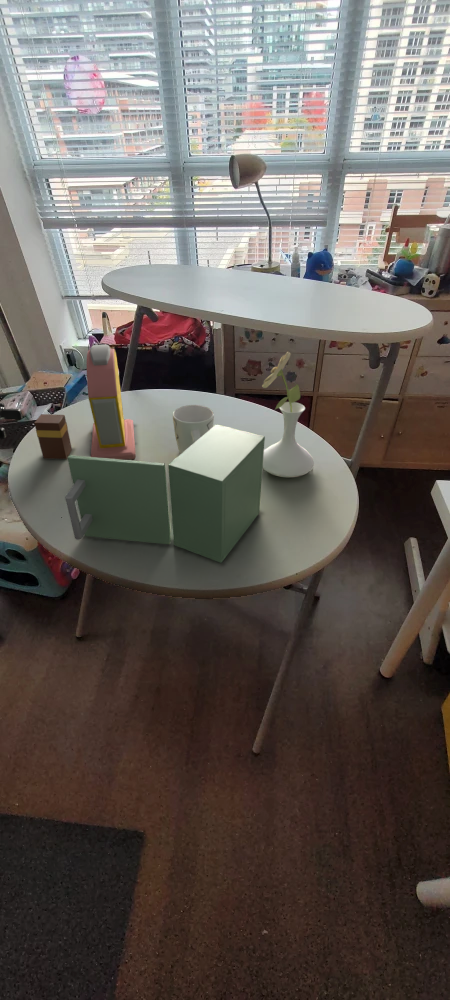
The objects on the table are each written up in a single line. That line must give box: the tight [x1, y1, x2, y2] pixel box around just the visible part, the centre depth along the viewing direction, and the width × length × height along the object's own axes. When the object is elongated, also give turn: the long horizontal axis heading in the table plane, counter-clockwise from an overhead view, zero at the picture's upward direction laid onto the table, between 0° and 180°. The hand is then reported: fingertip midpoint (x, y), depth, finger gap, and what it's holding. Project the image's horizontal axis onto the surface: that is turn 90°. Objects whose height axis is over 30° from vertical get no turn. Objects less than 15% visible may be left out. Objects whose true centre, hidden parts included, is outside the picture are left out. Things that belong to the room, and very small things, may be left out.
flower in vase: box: [261, 350, 315, 478], centre depth 88 cm, size 13×11×25 cm
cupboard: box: [167, 424, 266, 564], centre depth 75 cm, size 9×15×16 cm, turn 152°
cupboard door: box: [64, 454, 172, 546], centre depth 70 cm, size 6×15×16 cm, turn 82°
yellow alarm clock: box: [86, 344, 137, 460], centre depth 97 cm, size 22×9×22 cm, turn 11°
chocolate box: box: [33, 413, 73, 460], centre depth 97 cm, size 5×4×8 cm
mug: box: [172, 404, 215, 455], centre depth 95 cm, size 11×8×10 cm
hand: (13, 423), depth 95 cm, fingers open, 8 cm apart
